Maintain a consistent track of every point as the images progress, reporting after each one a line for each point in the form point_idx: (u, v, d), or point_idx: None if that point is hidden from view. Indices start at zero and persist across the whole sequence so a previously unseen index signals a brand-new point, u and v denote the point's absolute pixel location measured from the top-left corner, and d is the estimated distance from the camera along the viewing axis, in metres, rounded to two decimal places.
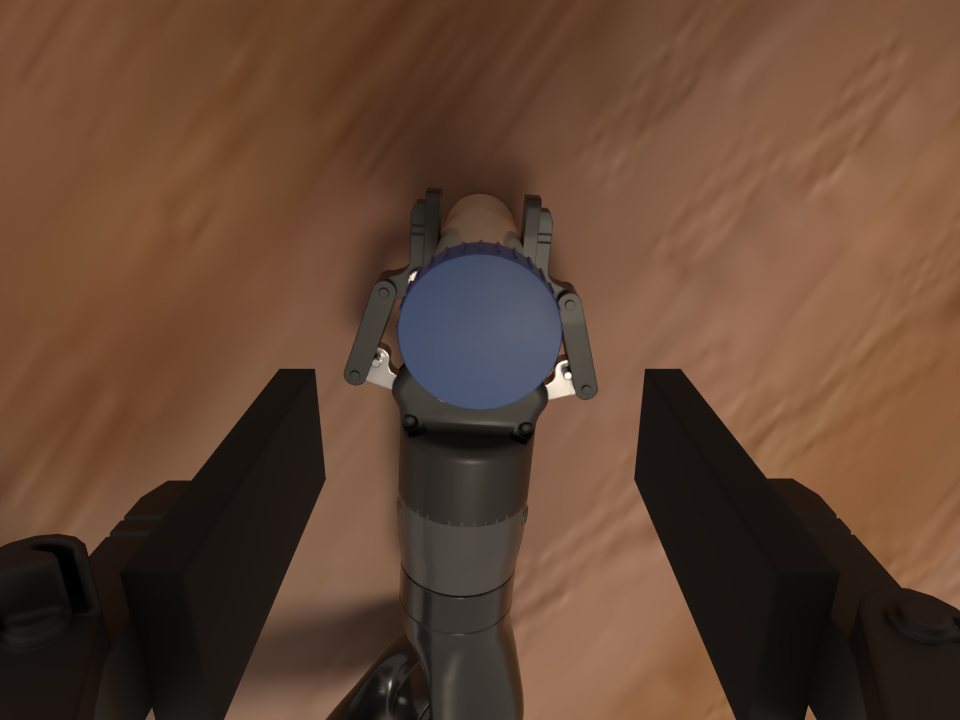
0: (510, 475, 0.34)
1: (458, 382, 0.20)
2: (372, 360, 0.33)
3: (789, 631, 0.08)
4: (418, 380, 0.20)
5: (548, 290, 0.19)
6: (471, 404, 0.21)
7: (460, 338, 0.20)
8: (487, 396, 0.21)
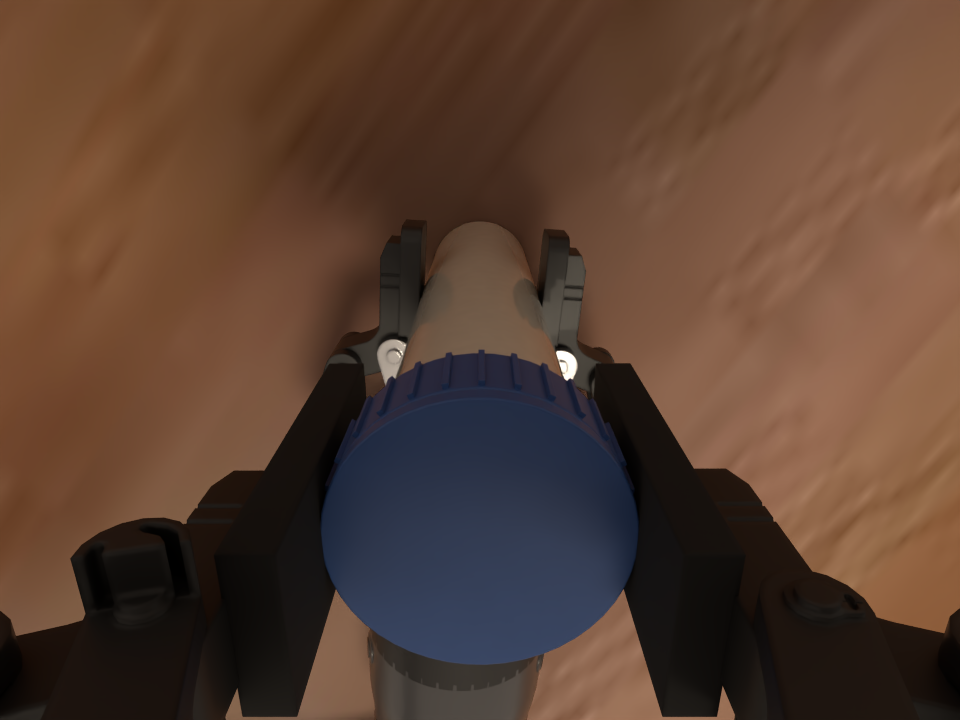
0: None
1: (439, 621, 0.11)
2: None
3: (700, 612, 0.08)
4: (363, 618, 0.11)
5: (615, 464, 0.10)
6: (464, 656, 0.11)
7: (443, 549, 0.10)
8: (494, 644, 0.11)
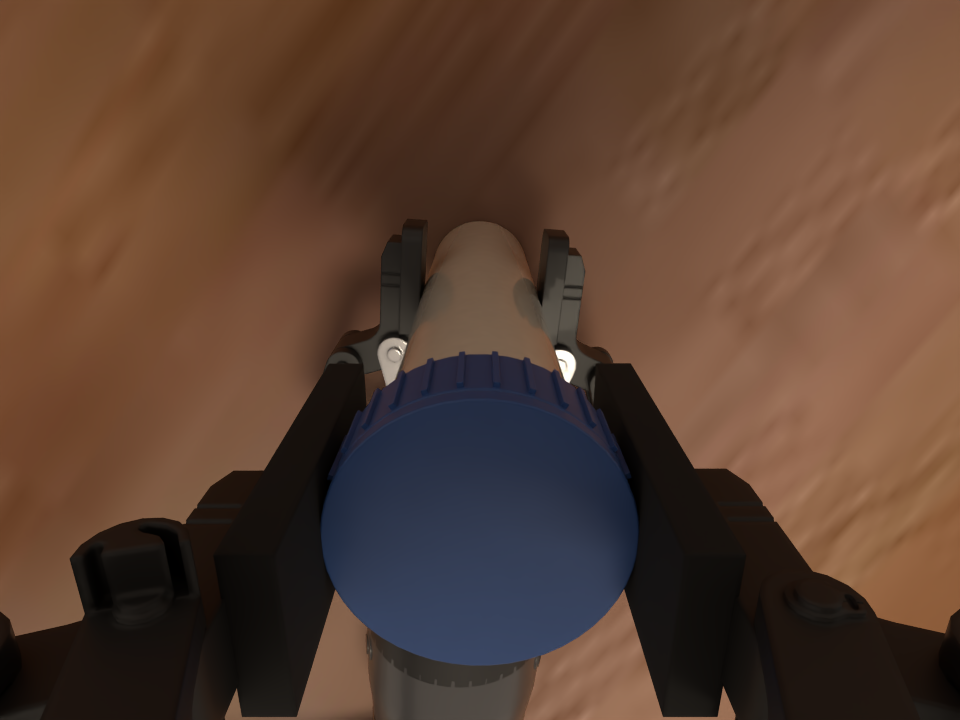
0: None
1: (585, 555, 0.10)
2: None
3: (700, 612, 0.08)
4: (599, 616, 0.11)
5: (350, 456, 0.10)
6: (627, 522, 0.10)
7: (495, 572, 0.10)
8: (602, 500, 0.10)
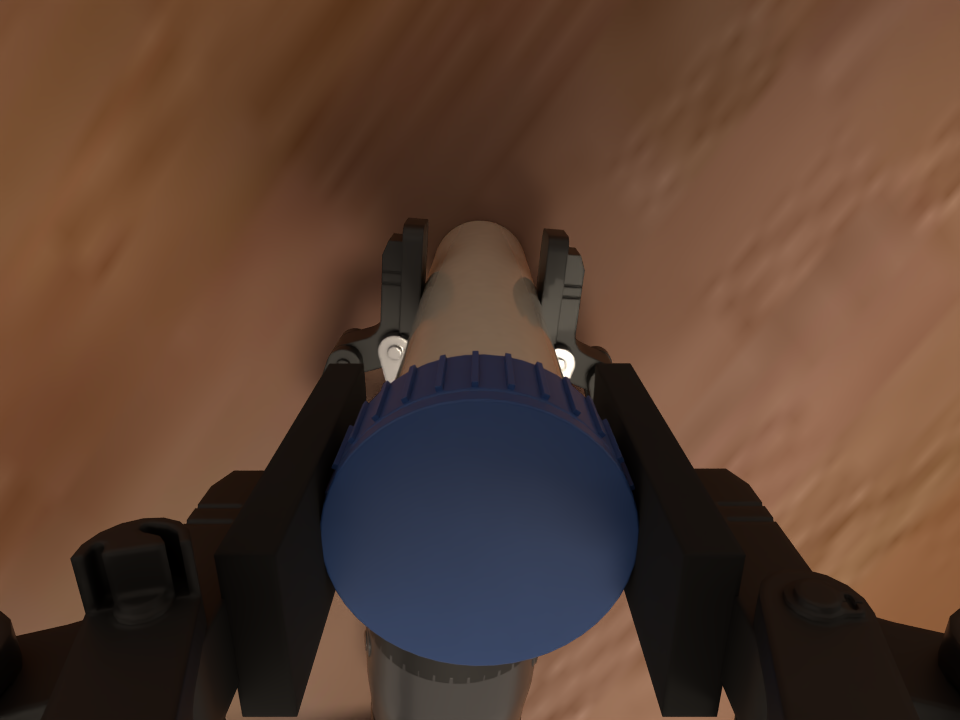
0: None
1: (459, 451, 0.10)
2: None
3: (700, 612, 0.08)
4: (534, 413, 0.09)
5: (424, 656, 0.11)
6: (407, 426, 0.10)
7: (507, 523, 0.10)
8: (390, 457, 0.10)
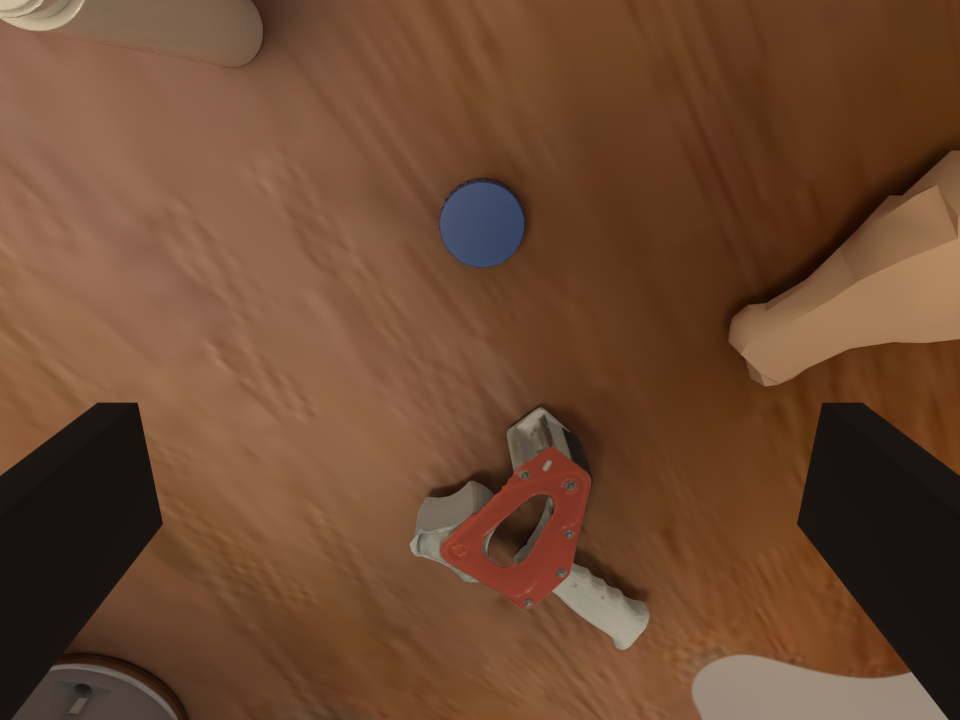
0: None
1: (456, 238, 0.39)
2: None
3: None
4: (441, 224, 0.39)
5: (523, 229, 0.39)
6: (454, 253, 0.39)
7: (473, 221, 0.39)
8: (463, 254, 0.39)
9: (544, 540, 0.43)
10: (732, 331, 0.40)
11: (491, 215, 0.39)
